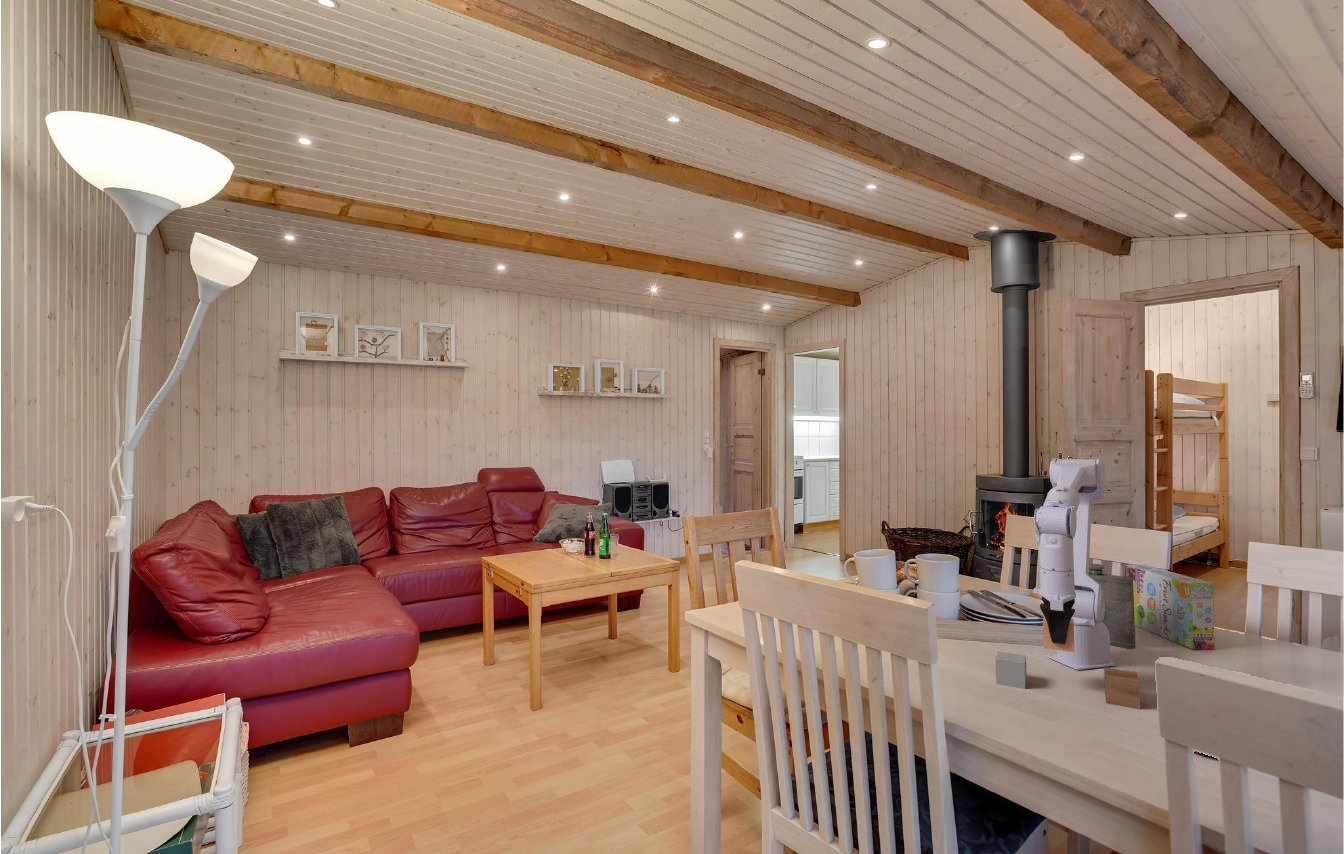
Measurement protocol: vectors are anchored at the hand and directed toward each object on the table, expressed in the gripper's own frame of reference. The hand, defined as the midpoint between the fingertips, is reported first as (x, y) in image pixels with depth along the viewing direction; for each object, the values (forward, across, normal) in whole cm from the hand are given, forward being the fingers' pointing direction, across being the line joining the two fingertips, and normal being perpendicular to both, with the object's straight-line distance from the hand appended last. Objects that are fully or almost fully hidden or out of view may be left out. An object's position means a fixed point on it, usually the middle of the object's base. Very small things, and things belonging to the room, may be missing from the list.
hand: (1058, 638), depth 120 cm
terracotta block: (+1, 0, 0) cm, 1 cm away
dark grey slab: (+10, -35, +7) cm, 37 cm away
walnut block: (+10, +1, +10) cm, 14 cm away
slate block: (+10, +1, -8) cm, 13 cm away
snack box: (+10, -48, +21) cm, 53 cm away
